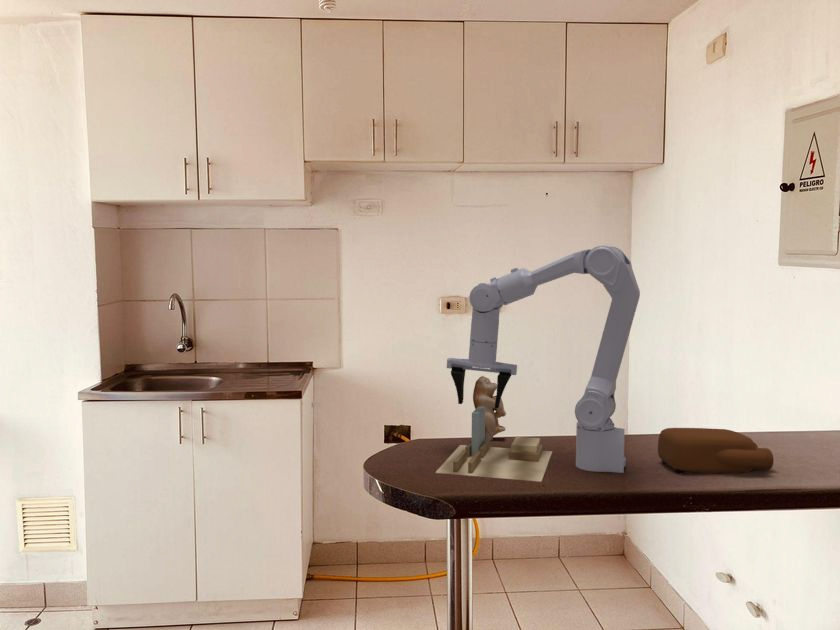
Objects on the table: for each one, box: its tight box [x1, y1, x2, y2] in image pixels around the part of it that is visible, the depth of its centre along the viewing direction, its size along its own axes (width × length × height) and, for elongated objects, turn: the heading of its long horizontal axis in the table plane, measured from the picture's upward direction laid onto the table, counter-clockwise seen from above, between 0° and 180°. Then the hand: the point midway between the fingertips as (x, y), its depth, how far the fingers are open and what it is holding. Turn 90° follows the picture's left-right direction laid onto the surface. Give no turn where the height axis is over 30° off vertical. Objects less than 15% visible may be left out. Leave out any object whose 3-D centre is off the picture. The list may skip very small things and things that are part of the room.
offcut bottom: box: [508, 444, 543, 462], centre depth 148 cm, size 6×8×2 cm
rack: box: [435, 438, 553, 487], centre depth 144 cm, size 20×22×3 cm
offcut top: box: [510, 436, 541, 454], centre depth 148 cm, size 5×7×2 cm
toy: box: [657, 427, 775, 474], centre depth 143 cm, size 15×8×20 cm
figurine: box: [472, 375, 507, 441], centre depth 163 cm, size 6×8×15 cm
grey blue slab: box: [471, 407, 485, 456], centre depth 150 cm, size 2×7×9 cm, turn 165°
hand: (478, 405), depth 150 cm, fingers open, 7 cm apart
